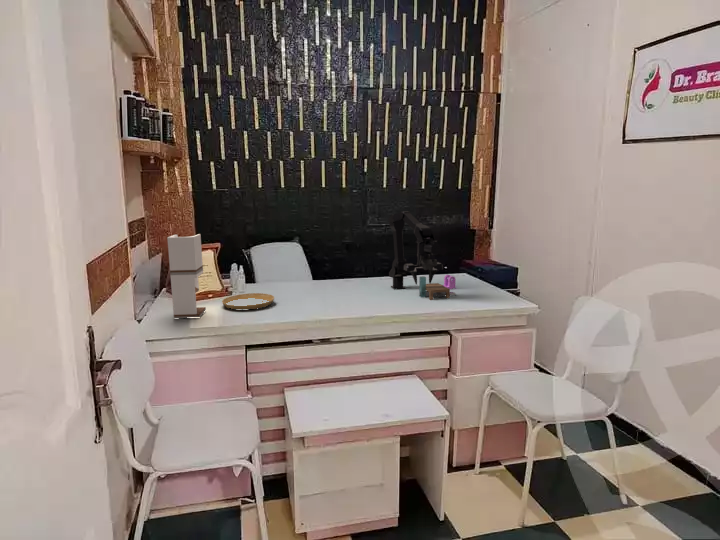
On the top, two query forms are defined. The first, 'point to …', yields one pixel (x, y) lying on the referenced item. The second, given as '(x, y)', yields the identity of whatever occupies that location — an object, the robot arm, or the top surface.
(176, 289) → the grey segmented column
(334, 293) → the top surface
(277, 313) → the top surface
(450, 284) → the bracket
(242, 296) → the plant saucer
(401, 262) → the robot arm
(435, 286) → the stand
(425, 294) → the teal angled piece
